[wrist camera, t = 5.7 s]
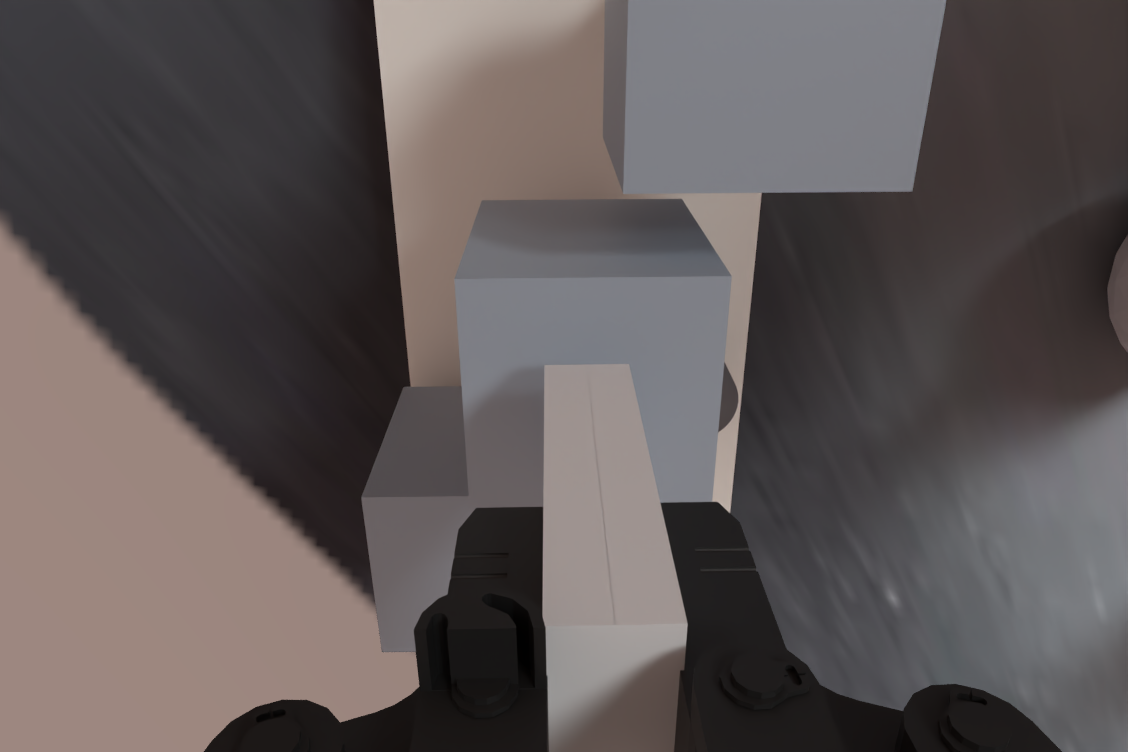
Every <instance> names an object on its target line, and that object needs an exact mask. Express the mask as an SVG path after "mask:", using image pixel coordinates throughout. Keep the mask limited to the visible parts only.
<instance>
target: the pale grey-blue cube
mask: <svg viewBox="0 0 1128 752" xmlns="http://www.w3.org/2000/svg"><path fill="white" fill-rule="evenodd" d="M945 6H946V0H605V22H604V90H603V139H604V142H605V145H606V148H607V150H608V153H609V156H610V159H611V162H612V164H613V167H614V170H615V173H616V175H617V178H618V181H619V184H620V186H621V189H622V192H623V194H674V193H796V192H912V190H913V185H914V179H915V174H916V168H917V162H918V157H919V151H920V146H921V140H922V134H923V129H924V123H925V118H926V112H927V106H928V101H929V95H930V90H931V84H932V78H933V73H934V67H935V62H936V56H937V50H938V45H939V39H940V34H941V28H942V22H943V17H944V11H945Z"/></svg>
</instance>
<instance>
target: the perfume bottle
mask: <svg viewBox="0 0 1128 752" xmlns="http://www.w3.org/2000/svg"><path fill="white" fill-rule="evenodd" d="M1107 293H1108V305H1109V317H1110V320H1111V322H1112V324H1113V327H1114V329H1115V332H1116V334H1117V336H1118V339H1119V341H1120V343H1121V345H1122V346H1123V347H1124V348H1125V350H1126V351H1127V352H1128V235H1127V236H1126V238H1125V240H1124V241H1123V243H1122V245H1121V246H1120V248H1119V250H1118V251H1117V253H1116V256H1115V260H1114V264H1113V268H1112V271H1111V275H1110V279H1109V283H1108V287H1107Z"/></svg>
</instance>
